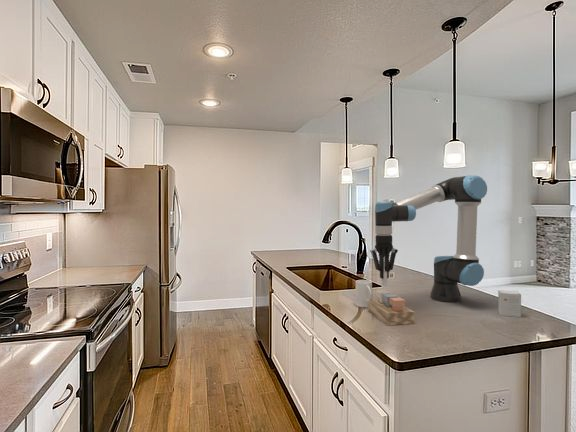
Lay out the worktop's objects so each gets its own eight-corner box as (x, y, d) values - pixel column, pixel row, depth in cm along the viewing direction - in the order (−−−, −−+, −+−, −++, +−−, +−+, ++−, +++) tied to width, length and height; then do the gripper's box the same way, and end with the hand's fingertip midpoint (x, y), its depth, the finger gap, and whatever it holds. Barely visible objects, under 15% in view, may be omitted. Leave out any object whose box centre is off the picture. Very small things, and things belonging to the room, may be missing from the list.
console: (392, 310, 169) (392, 299, 168) (414, 323, 149) (414, 311, 149) (368, 311, 166) (368, 300, 166) (387, 325, 147) (387, 313, 147)
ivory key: (386, 305, 167) (386, 290, 167) (390, 308, 162) (390, 292, 162) (376, 305, 166) (376, 290, 166) (381, 308, 161) (381, 293, 161)
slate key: (392, 309, 160) (392, 293, 160) (397, 312, 156) (397, 296, 156) (382, 309, 160) (382, 294, 159) (387, 312, 155) (387, 296, 155)
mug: (377, 308, 171) (377, 284, 170) (361, 309, 169) (361, 285, 169) (368, 302, 182) (368, 279, 182) (352, 303, 181) (352, 280, 180)
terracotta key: (399, 313, 154) (399, 297, 154) (405, 316, 149) (405, 300, 149) (389, 313, 153) (389, 297, 153) (394, 317, 148) (394, 300, 148)
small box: (517, 313, 162) (517, 291, 162) (521, 317, 157) (521, 293, 156) (497, 312, 165) (498, 289, 164) (500, 315, 159) (501, 292, 159)
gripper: (393, 233, 168) (393, 282, 169) (367, 234, 166) (367, 284, 166) (400, 234, 161) (401, 286, 161) (374, 235, 158) (374, 287, 159)
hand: (384, 285), depth 164 cm, fingers closed
